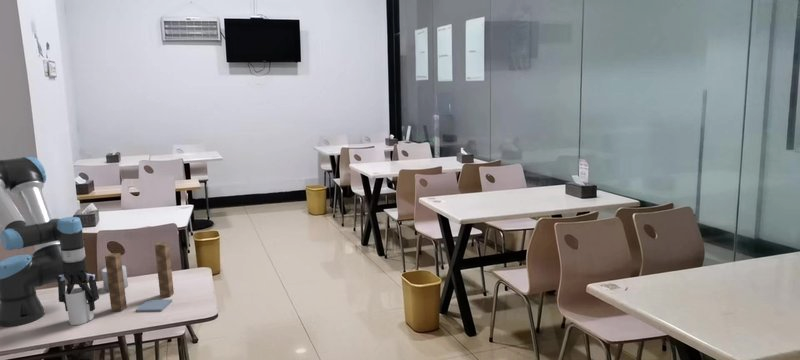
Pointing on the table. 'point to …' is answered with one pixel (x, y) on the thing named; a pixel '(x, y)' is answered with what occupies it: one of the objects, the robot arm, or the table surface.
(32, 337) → the table surface
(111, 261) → the corner post
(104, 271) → the toilet tissue
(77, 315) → the mug
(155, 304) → the mat
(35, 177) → the robot arm
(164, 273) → the far post
